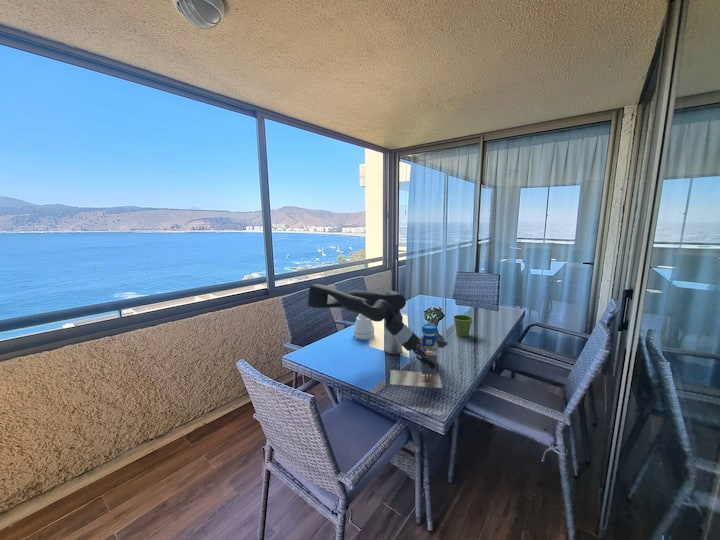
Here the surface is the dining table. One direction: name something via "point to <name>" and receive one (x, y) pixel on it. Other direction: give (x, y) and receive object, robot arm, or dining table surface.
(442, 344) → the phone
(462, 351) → the dining table surface
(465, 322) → the plant pot
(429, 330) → the beverage bottle
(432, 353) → the plug housing
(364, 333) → the honey pot
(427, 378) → the board
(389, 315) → the robot arm
